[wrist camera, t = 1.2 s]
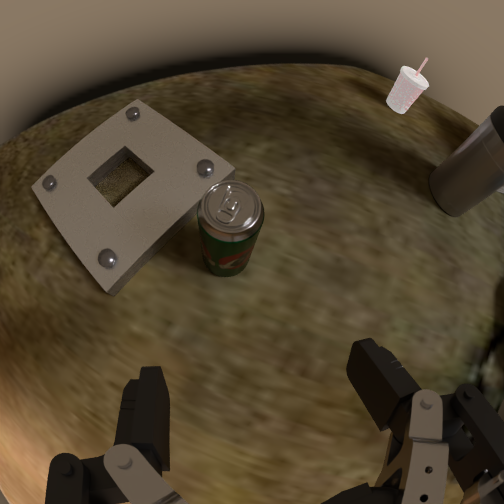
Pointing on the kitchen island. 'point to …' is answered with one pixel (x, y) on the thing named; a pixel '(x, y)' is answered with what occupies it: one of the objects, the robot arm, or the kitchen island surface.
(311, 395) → the kitchen island surface
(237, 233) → the soda can
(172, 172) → the socket plate
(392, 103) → the beverage cup
